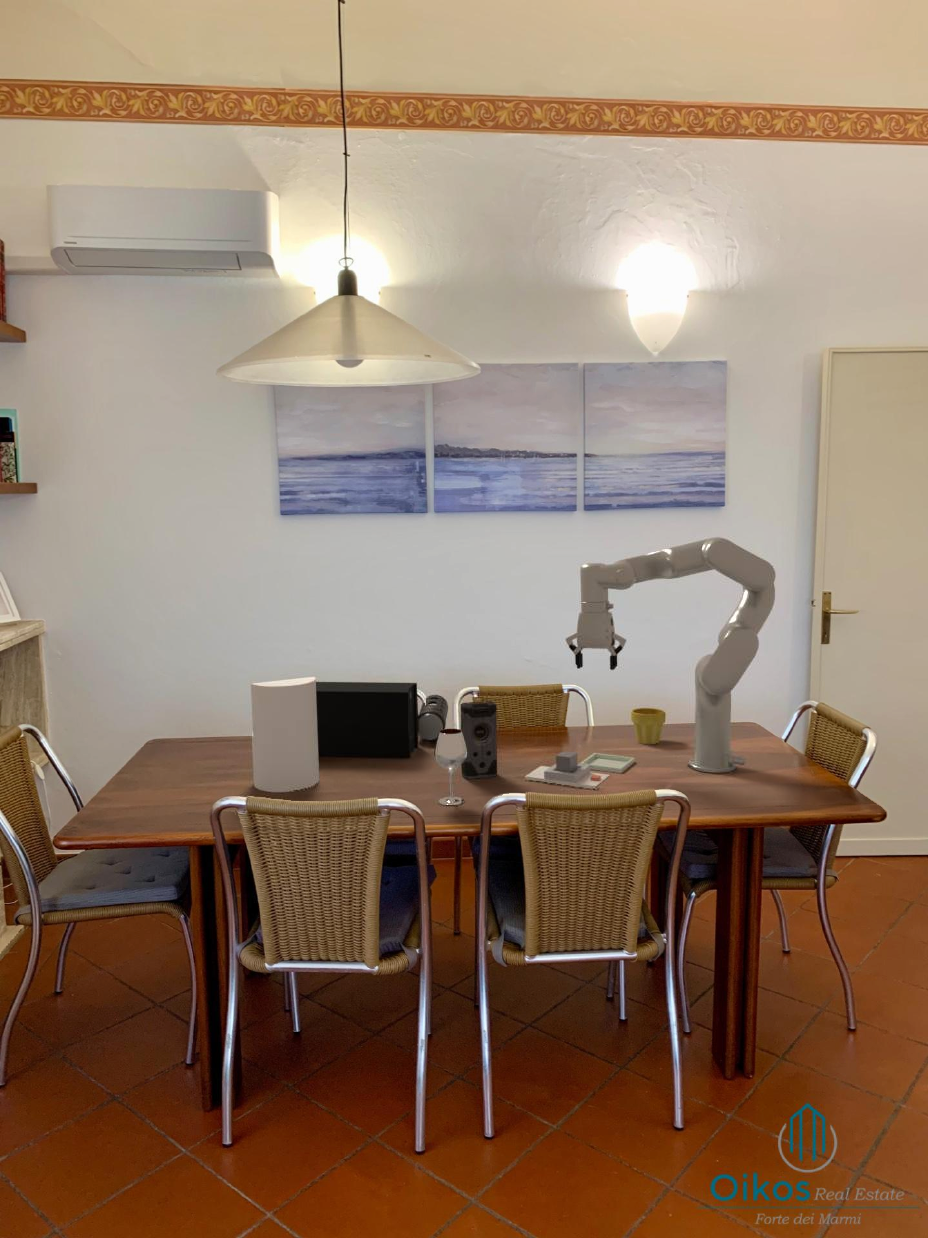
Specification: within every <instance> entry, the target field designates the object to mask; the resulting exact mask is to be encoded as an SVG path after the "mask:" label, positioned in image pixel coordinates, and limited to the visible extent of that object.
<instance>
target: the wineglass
mask: <svg viewBox="0 0 928 1238" xmlns="http://www.w3.org/2000/svg"><path fill="white" fill-rule="evenodd" d="M435 741H436V742H435V746H434V750H433V751H434V752H433V753H434V754H433V755H434V758H435V760H436V762H437V763H438V765H440V766H441V767H442V768H444V769H445V771H447V772H448V775H449V796H446V797H442V798H439V800H438V803H439V804H440V805H443V806H446V805H455V806H459V805H462V804H463V803H465V800H464V798H463V797H462V798H461V797H459V796H454V780H453V779H454V778H453V777H454V773H455V771H456V770H458V768H460V767H461V765H462V764H463V763H464V761H465V760H466V757H467V748H466V744H465V740H464V736H463V733H462V730H461V728H460V729H458V728H445V729H442V730H440V731H439V733H438V737H437V739H436V740H435ZM461 803H462V804H461Z"/></svg>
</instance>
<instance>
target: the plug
mask: <svg viewBox="0 0 928 1238" xmlns="http://www.w3.org/2000/svg"><path fill="white" fill-rule="evenodd" d="M555 764H556V771H560V772H568V773H574V772H575V771H577V764H578V752H574V751H572V752H571V751H565V750H563V751H561V752H559V753H558V754H556V756H555Z"/></svg>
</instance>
